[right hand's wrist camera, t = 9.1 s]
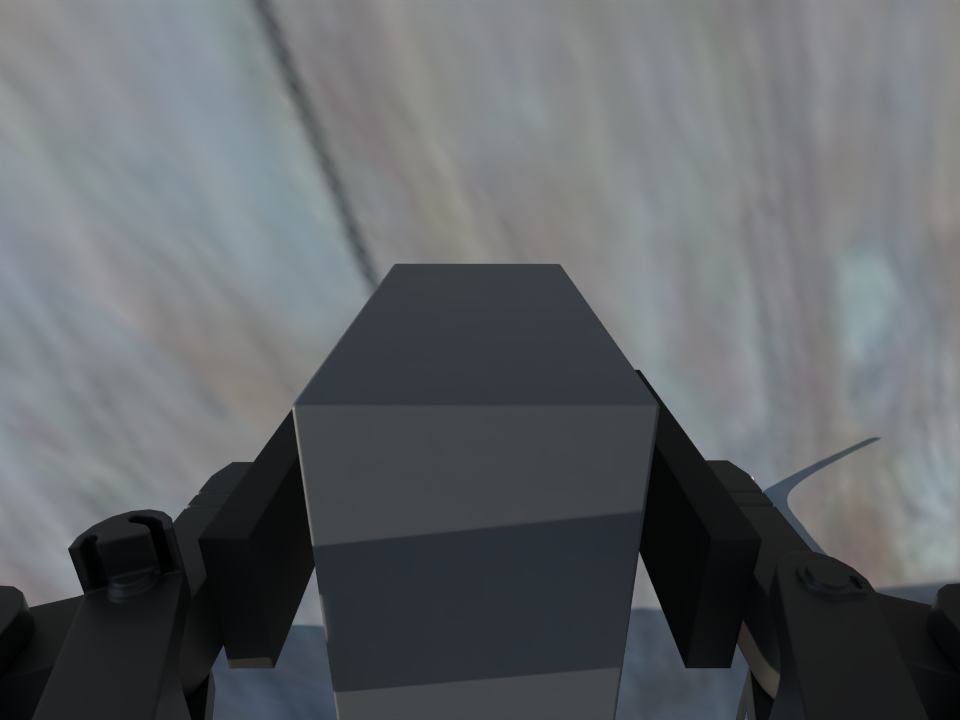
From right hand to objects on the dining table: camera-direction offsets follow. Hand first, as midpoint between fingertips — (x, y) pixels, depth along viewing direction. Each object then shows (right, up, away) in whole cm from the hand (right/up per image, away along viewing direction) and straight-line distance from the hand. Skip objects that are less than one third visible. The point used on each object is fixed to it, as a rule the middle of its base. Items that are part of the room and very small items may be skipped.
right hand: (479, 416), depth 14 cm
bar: (0, -8, +4) cm, 9 cm away
